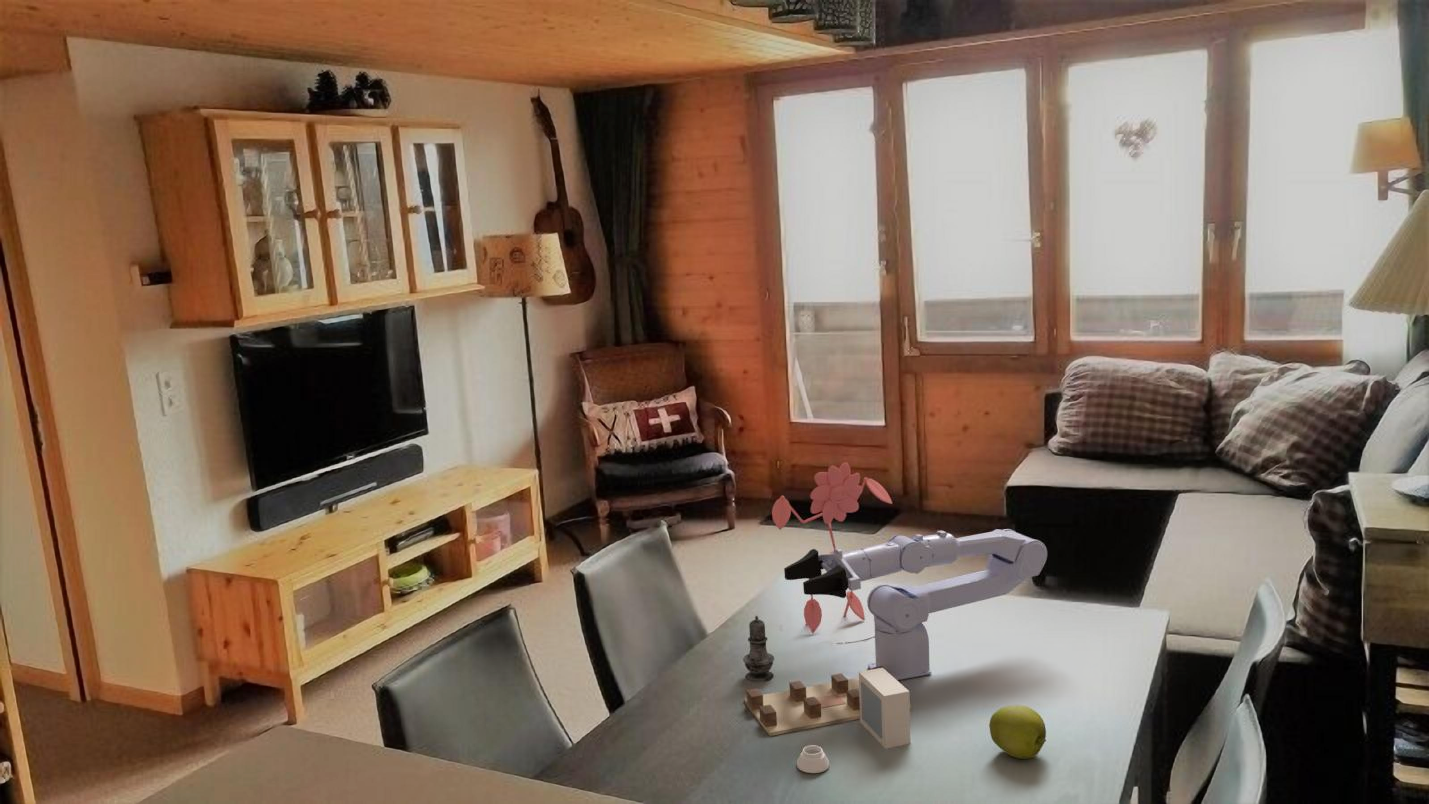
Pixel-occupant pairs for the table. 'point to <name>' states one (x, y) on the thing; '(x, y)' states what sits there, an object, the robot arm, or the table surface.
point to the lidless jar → (812, 760)
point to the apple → (1018, 731)
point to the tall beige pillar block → (884, 707)
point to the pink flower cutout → (834, 501)
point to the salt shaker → (758, 654)
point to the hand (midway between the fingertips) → (794, 581)
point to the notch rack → (807, 705)
